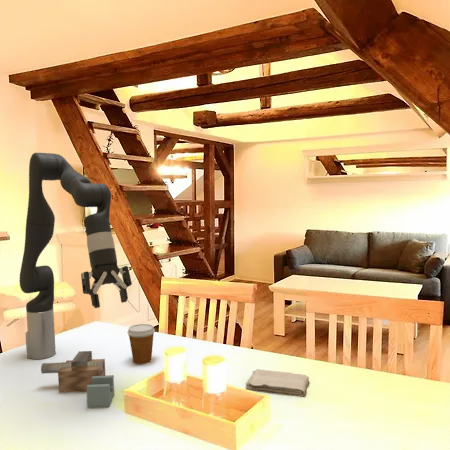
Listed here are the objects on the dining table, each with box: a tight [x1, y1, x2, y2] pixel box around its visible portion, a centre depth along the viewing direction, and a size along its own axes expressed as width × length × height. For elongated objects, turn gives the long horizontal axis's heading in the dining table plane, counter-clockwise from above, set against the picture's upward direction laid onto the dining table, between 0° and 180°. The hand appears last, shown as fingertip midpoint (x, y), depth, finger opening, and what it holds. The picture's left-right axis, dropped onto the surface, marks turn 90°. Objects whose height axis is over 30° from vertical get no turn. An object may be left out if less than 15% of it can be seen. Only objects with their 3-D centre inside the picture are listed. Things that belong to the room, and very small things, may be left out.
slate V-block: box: [86, 374, 115, 409], centre depth 128 cm, size 6×7×6 cm
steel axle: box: [40, 361, 103, 375], centre depth 138 cm, size 18×3×3 cm, turn 94°
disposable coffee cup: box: [127, 323, 156, 365], centre depth 158 cm, size 10×10×12 cm
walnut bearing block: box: [57, 350, 106, 394], centre depth 138 cm, size 12×9×9 cm
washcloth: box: [245, 368, 310, 397], centre depth 136 cm, size 12×18×3 cm, turn 73°
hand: (110, 305), depth 128 cm, fingers open, 8 cm apart
